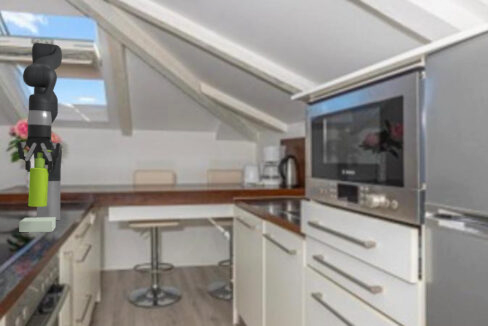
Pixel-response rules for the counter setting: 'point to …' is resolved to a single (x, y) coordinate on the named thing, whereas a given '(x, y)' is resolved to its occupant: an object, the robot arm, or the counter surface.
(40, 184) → the soap dispenser
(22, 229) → the plate
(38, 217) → the robot arm
